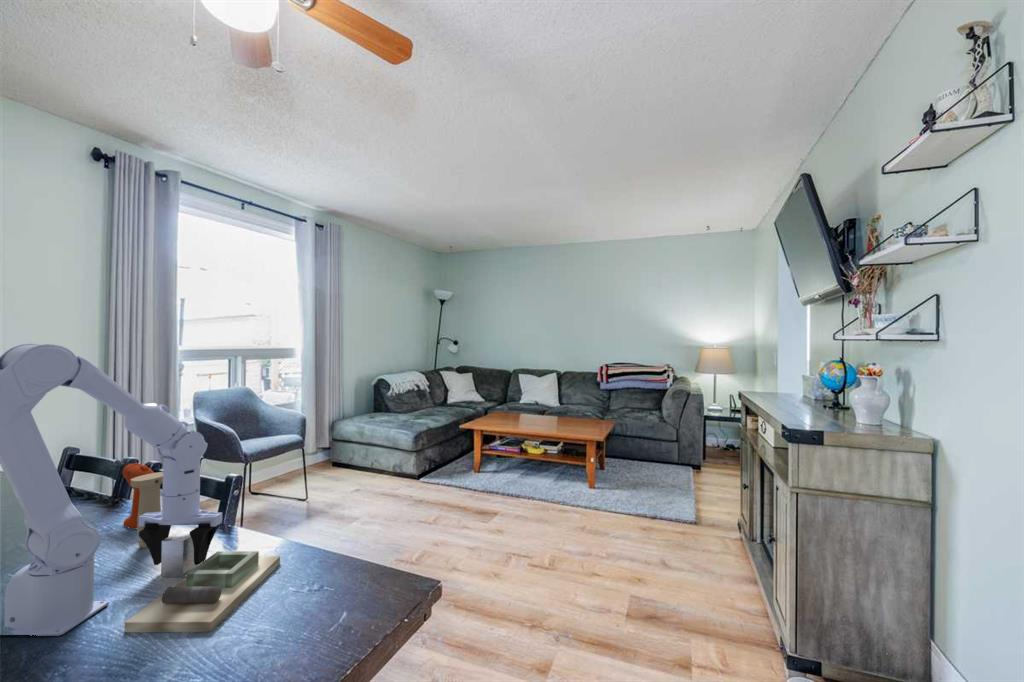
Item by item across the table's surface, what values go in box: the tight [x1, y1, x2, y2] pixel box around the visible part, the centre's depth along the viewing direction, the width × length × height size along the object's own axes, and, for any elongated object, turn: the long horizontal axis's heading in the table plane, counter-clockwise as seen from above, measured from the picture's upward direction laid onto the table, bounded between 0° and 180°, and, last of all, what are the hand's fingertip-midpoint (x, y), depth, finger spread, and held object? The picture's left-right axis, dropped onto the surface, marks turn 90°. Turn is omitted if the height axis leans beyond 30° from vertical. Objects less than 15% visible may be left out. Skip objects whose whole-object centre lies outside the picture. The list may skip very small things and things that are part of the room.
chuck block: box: [124, 550, 281, 633], centre depth 74 cm, size 13×20×4 cm, turn 1°
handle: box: [130, 471, 163, 549], centre depth 92 cm, size 5×6×15 cm
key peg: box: [160, 531, 198, 579], centre depth 81 cm, size 4×4×7 cm
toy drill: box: [114, 459, 155, 529], centre depth 104 cm, size 5×19×15 cm, turn 62°
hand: (180, 562), depth 81 cm, fingers open, 7 cm apart
